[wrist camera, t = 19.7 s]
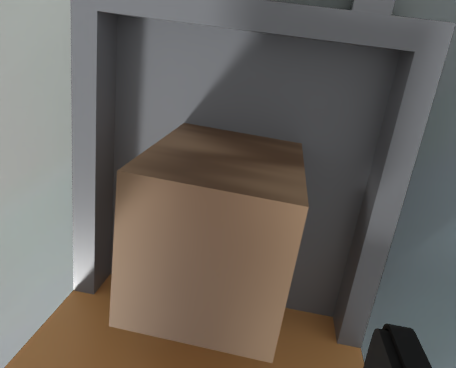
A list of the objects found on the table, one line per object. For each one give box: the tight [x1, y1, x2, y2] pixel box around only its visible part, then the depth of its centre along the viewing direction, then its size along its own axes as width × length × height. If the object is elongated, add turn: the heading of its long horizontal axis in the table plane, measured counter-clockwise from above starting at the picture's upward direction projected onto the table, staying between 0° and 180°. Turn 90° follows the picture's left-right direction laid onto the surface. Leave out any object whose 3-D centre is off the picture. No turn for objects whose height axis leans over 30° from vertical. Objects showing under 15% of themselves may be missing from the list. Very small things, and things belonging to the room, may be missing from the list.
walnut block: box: [109, 123, 309, 363], centre depth 14 cm, size 5×5×7 cm
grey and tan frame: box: [5, 0, 456, 368], centre depth 15 cm, size 14×13×9 cm
